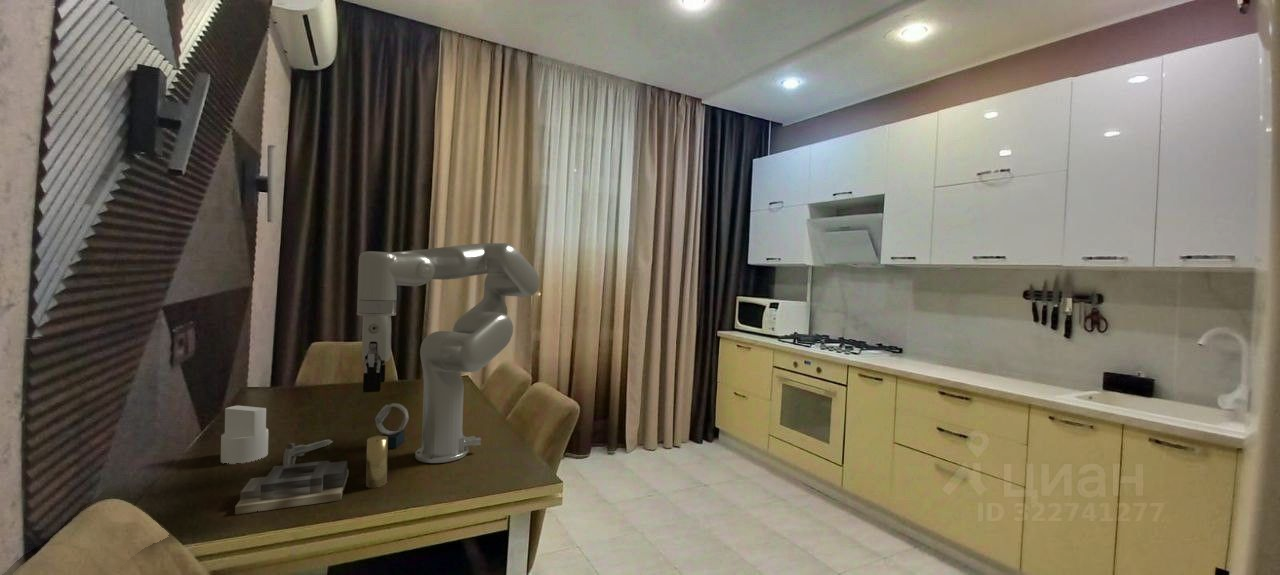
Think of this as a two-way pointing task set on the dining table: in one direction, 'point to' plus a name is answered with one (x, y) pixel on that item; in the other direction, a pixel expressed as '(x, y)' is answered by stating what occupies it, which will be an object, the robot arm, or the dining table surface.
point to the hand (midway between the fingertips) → (374, 386)
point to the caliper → (301, 450)
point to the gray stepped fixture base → (294, 486)
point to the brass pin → (376, 461)
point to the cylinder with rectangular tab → (244, 435)
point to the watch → (393, 435)
